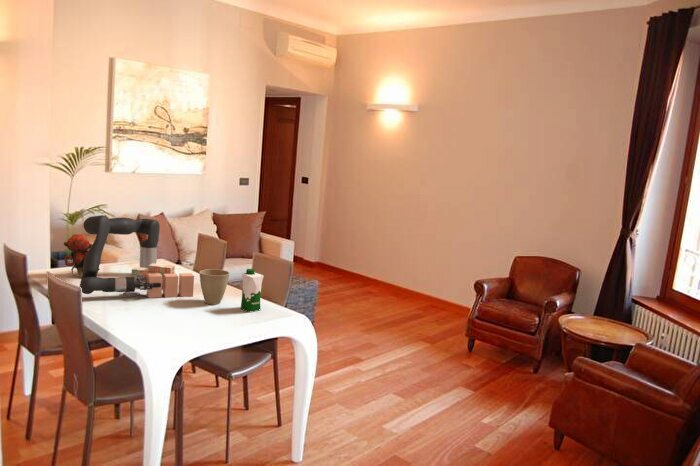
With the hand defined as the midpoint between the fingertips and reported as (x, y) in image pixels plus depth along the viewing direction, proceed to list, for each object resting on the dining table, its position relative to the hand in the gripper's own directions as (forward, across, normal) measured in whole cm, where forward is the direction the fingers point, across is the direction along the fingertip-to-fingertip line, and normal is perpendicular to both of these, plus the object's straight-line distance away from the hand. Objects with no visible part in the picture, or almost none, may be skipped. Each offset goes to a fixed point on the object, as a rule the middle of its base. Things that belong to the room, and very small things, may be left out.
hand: (159, 283), depth 283 cm
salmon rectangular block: (+6, 0, +7) cm, 9 cm away
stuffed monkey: (-32, +46, +7) cm, 57 cm away
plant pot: (+24, -16, +7) cm, 29 cm away
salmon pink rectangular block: (-2, 0, +6) cm, 7 cm away
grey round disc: (-12, +6, +7) cm, 15 cm away
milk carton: (+39, -31, +7) cm, 50 cm away
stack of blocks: (0, +20, +7) cm, 21 cm away
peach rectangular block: (+14, 0, +7) cm, 15 cm away
